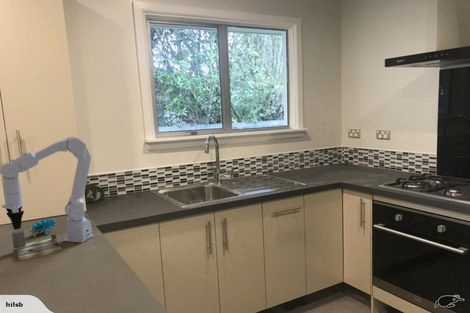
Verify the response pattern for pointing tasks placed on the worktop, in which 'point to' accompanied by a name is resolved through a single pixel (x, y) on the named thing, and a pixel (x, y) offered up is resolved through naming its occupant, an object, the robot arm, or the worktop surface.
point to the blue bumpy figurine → (42, 226)
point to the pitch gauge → (39, 248)
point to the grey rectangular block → (18, 239)
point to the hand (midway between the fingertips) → (16, 226)
